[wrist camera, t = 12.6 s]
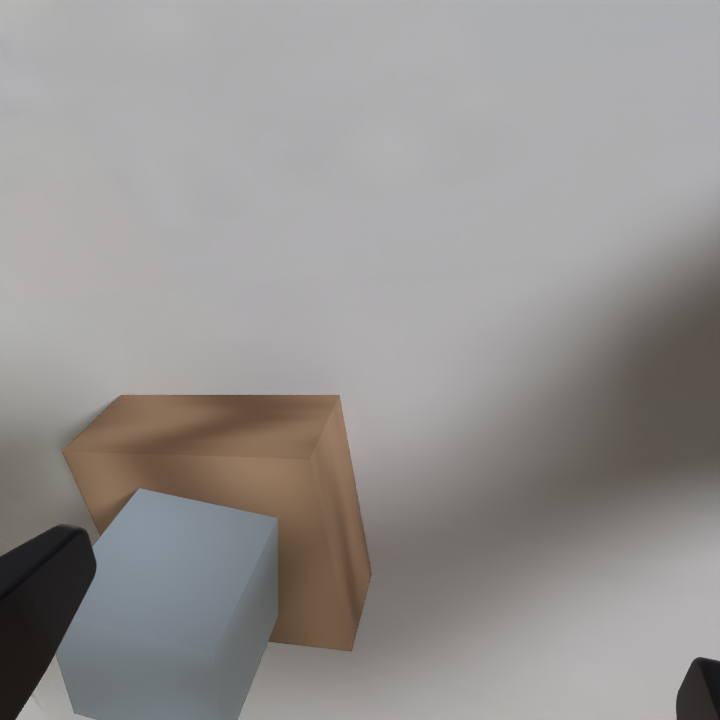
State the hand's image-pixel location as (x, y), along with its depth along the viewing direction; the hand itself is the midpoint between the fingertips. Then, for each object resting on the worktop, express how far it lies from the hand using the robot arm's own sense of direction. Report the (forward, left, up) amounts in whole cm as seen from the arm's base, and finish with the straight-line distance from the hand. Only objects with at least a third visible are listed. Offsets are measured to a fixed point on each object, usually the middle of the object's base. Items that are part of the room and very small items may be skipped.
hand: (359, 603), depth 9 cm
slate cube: (+7, +9, -8) cm, 14 cm away
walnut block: (+7, +10, -12) cm, 17 cm away
